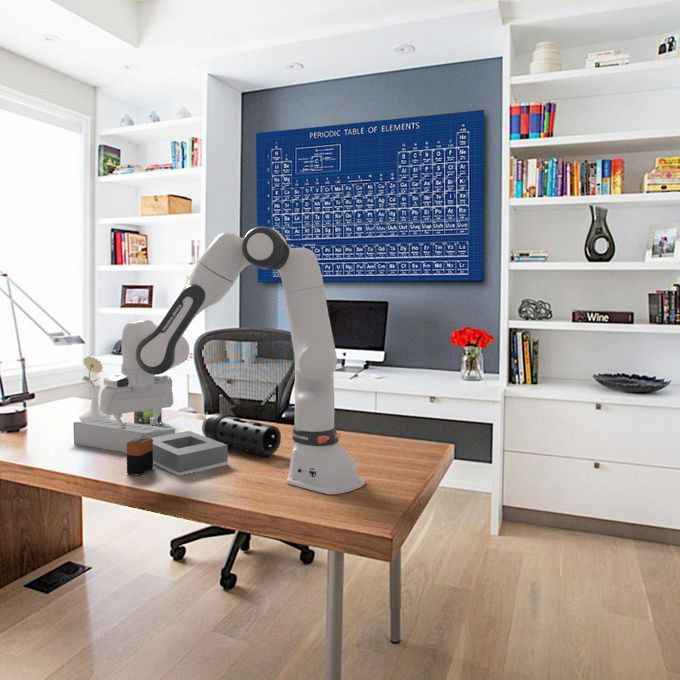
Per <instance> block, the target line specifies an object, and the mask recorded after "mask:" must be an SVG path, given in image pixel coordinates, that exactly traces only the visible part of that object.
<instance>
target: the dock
mask: <svg viewBox="0 0 680 680" xmlns="http://www.w3.org/2000/svg"><path fill="white" fill-rule="evenodd" d="M152 439H153V463H154V464H153V465H155V464H156V465H155V466H157V465H158V466H157V467H159V466H160V467H159V468H161V467H162V468H161V469H163V468H164V469H163V470H165V469H166V470H165V471H167V470H168V471H167V472H169V471H170V472H169V473H171V472H172V473H171V474H173V473H175V474H177V475H182V476H184V475H183V474H186V475H189V474H188V473H191V474H194V473H193V472H195V473H199V472H202V471H207V470H210V469H214V468H215V469H216V468H219V467H223V466H227V465H228V458H229V456H228V450H229V447H228V445H226V444H224V443H221V442H218V441H216V440H213V439H210V438H207V437H205V436H204V435H202V434H199V433H196V432H195V431H191V430H187V431H186V430H185V431H182V432H180V431H179V432H175V433H174V434H169V435H163V436H158V437H152ZM198 471H199V472H198ZM175 474H174V475H175ZM177 475H176V476H177Z"/></svg>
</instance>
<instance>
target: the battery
mask: <svg viewBox="0 0 680 680" xmlns="http://www.w3.org/2000/svg"><path fill="white" fill-rule="evenodd" d="M126 446H127V453H126V474H127V473H128V474H127V475H132V474H138V475H137V476H141V475H143V474H145V473H146V471H147V472H149V471H151V470H153V469H152V468H154V464H153V439H152V438H146V436H145V435H143V436H141V437H139V438H133V439H132V441H129V442H127V444H126ZM150 469H151V470H150ZM148 470H149V471H148ZM144 472H145V473H144ZM142 473H143V474H142ZM140 474H141V475H140Z"/></svg>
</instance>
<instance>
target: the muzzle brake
mask: <svg viewBox="0 0 680 680" xmlns="http://www.w3.org/2000/svg"><path fill="white" fill-rule="evenodd" d="M201 430H202V433H203V436H205V437H207V438H210V439H213V440H216V441H218V442H221V443H224V444H226V445H228V448H231V447H234V448H239V449H241V450H242V451H247V452H248V453H250V454H255V455H259V456H263V457H267V458H270V457H272V455H273V454H275V453H276V451H278V449H279V447H280V445H281V440H282V434H281V432H280V429H279V428H278V427H277V426H275V425H270V424H267V423H266V424H265V423H261V422H256V421H252V420H247V419H243V418H238V417H233V416H229V415H227V414H225V413H220V412H218V413H217V412H215V413H211V414H209V415H207V416H206V417H205V418H204V420H203V422H202V425H201Z"/></svg>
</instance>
